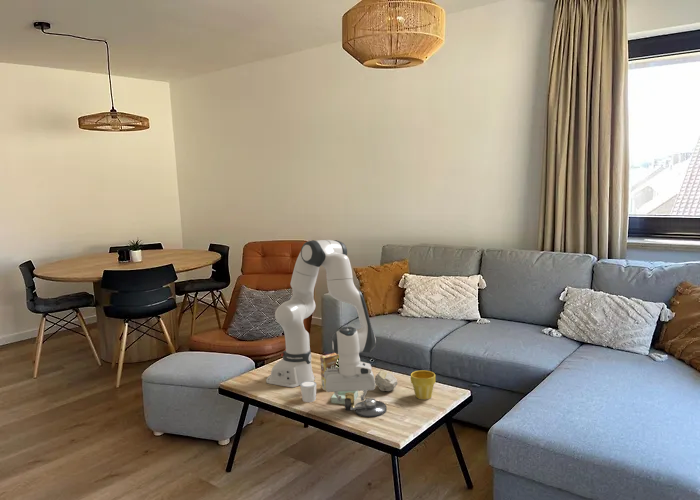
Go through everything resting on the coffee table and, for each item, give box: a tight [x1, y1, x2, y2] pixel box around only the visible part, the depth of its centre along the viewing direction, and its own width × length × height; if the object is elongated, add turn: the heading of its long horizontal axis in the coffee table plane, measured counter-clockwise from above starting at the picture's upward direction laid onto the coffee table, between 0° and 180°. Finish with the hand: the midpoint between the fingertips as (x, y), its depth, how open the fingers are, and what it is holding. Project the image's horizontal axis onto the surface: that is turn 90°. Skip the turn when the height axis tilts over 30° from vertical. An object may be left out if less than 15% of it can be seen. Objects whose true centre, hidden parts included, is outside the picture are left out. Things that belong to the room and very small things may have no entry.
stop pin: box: [345, 392, 355, 405], centre depth 213 cm, size 4×4×6 cm
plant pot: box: [410, 369, 436, 401], centre depth 221 cm, size 10×10×10 cm
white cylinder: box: [299, 381, 317, 403], centre depth 223 cm, size 7×7×7 cm
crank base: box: [353, 400, 388, 418], centre depth 211 cm, size 13×13×1 cm
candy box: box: [320, 352, 339, 392], centre depth 234 cm, size 9×4×15 cm, turn 120°
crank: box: [344, 397, 377, 412], centre depth 210 cm, size 12×4×4 cm, turn 100°
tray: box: [330, 391, 359, 405], centre depth 222 cm, size 9×9×2 cm
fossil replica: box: [374, 369, 398, 392], centre depth 231 cm, size 12×8×10 cm
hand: (351, 400), depth 213 cm, fingers open, 8 cm apart
